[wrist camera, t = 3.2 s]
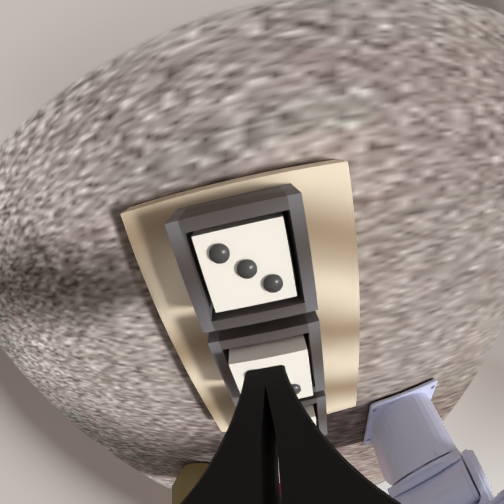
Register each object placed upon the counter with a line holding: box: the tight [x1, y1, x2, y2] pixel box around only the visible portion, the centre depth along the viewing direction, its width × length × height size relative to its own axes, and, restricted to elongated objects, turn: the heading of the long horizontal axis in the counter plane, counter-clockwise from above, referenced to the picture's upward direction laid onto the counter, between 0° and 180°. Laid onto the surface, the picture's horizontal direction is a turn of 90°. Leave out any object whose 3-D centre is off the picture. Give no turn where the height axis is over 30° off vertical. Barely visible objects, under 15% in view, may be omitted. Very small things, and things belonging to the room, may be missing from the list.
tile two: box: [229, 334, 313, 399], centre depth 15 cm, size 4×4×2 cm
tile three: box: [192, 212, 297, 313], centre depth 14 cm, size 4×4×2 cm
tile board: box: [121, 159, 360, 436], centre depth 17 cm, size 20×12×4 cm, turn 12°
